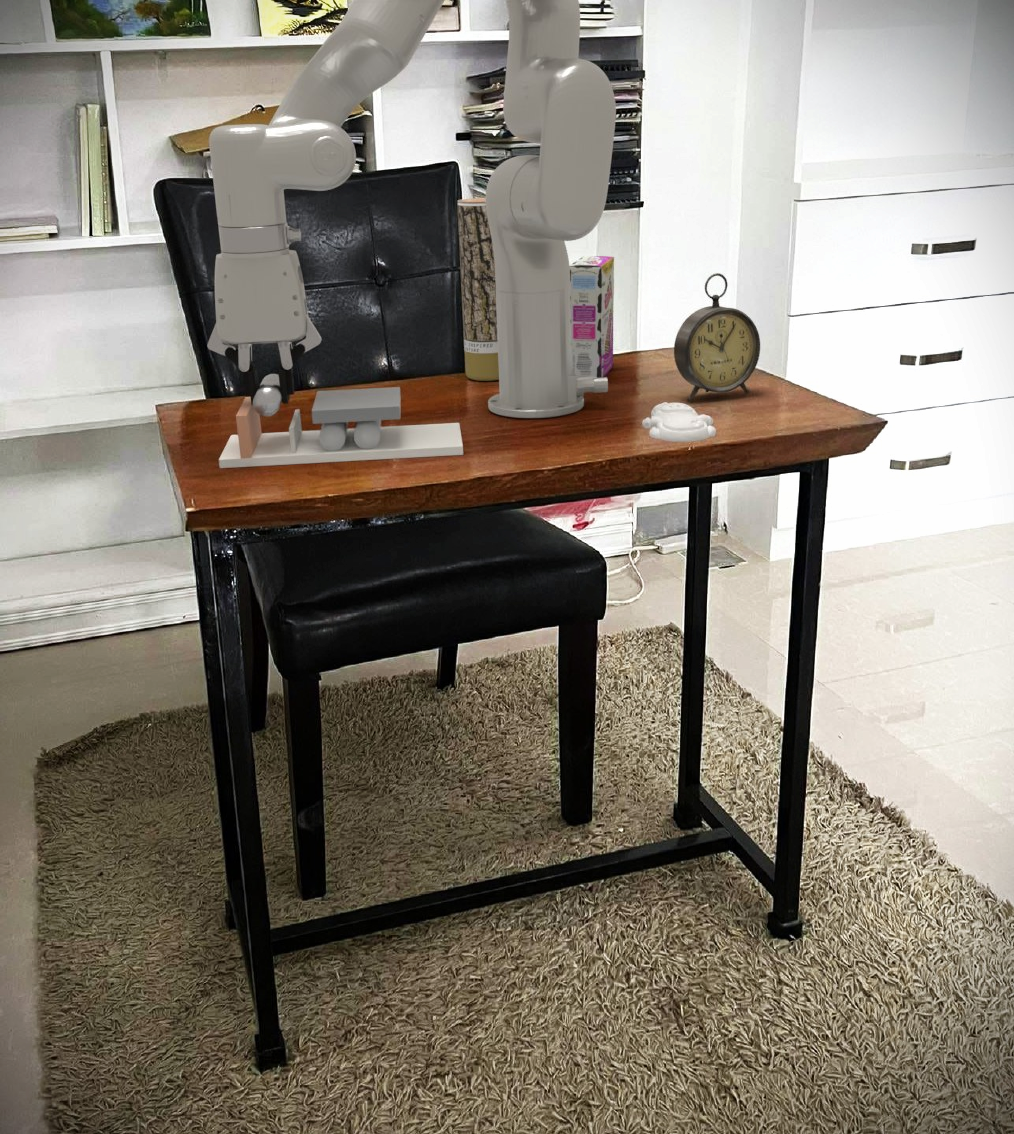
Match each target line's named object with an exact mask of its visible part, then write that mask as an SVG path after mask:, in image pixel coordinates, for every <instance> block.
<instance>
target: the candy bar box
mask: <svg viewBox="0 0 1014 1134" xmlns="http://www.w3.org/2000/svg"><path fill="white" fill-rule="evenodd" d="M569 266H570V318H571V367H572V369H573V371H574V372H575V374H576V375H578V377H580V376H583V377H586V376H595V377H596V378H600V377H607V375H608V373H609V372H610V371H611V370H612V368H613V367H614V303H615V302H614V295H615V291H614V290H615V289H614V288H615V272H614V271H615V268H614V267H615V257H614V256H606V255H605V256H604V255H589V256H585V255H584V256H582V257H580V258H579V259H578V260H575V261H573V263H570V264H569ZM612 366H613V367H612Z"/></svg>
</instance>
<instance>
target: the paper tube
mask: <svg viewBox="0 0 1014 1134" xmlns="http://www.w3.org/2000/svg"><path fill="white" fill-rule="evenodd" d="M456 207H457V225H458V226H457V227H458V242H459V243H458V246H459V262H460V263H459V265H460V267H459V268H460V285H461V287H460V288H461V289H460V290H461V304H462V305H461V309H462V310H461V311H462V327H463V331H462V332H463V347H464V348H463V350H464V363H465V364H464V368H465V375H466V377H467V378H468V379H470V380H472V381H480V382H489V381H490V382H491V381H492V382H494V381H499V364H498V339H497V313H496V282H495V263H494V252H493V244H492V238H491V233H490V228H489V223H488V218H487V213H486V202H485V197H475V198H473V197H472V198H464V199H458V200H457V206H456Z"/></svg>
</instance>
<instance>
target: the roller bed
mask: <svg viewBox="0 0 1014 1134" xmlns="http://www.w3.org/2000/svg"><path fill="white" fill-rule="evenodd" d="M241 403H242V404H241V405H240V407H239V409H238V410H237V413H236V415H235V422H236V427H237V429H236V430H237V434H231V435H230V437H229V439H228V441H227V442H226V445H225V447H224V449H223V451H222V452H221V454H220V457H219V458H218V465H219V469H227V468H230V469H231V468H248V467H265V466H267V467H269V466H281V465H282V466H283V465H284V466H285V465H286V466H287V465H303V464H318V463H339V462H353V461H354V462H356V461H359V462H360V461H371V460H372V461H374V460H375V461H376V460H390V459H391V460H392V459H393V460H394V459H410V458H411V459H412V458H427V457H443V456H444V457H447V456H463V455H464V445H463V438H462V432H461V427H460V425H461V424H460V422H448V423H428V424H415V425H412V424H411V425H410V424H409V425H393V426H391V425H390V426H382V420H374V421H356V422H355V425H354V426H355V427H352V428H348V425H349V422H337V423H321V427H320V429H316V430H302V420H301V411H300V409H298V408H297V409H295V410H294V413H293V415H292V419H291V422H290V424H289V427H288V431H282V432H280V431H279V432H278V431H277V432H264V433H263V432H262V425H261V417H260V416H261V415H260V414H258V413H257V412H256V411H255V409H254V407H253V405H251V397H246V396H245V398H244V399H243V401H242V402H241Z"/></svg>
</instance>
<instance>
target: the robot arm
mask: <svg viewBox="0 0 1014 1134" xmlns="http://www.w3.org/2000/svg"><path fill="white" fill-rule="evenodd" d="M445 1H446V0H353V1H352V3H351V4H350V6H349V8H348V9H347V11H346V13H345V15H344V16H343V17H342V20H341V21H340V23H338V25H337V26H336V28H335V29H334V30H333V31H332V32H331V33H330V35H329V36H328V37H327V38H326V40H325V41H324V42H323V43H322V45H321V46H320V47H319V49H318V50H317V51H316V52H315V53H314V55H313V56H312V57H311V59H310V60H309V61H308V63H307V64H306V65H305V66H304V67H303V69H302V70H301V71H300V73H299V74H298V75H297V77H296V78H295V79H294V81H293V82H292V84H291V85H290V87H289V89H288V91H287V92H286V93H285V96H283V98H282V100H281V102H280V104H279V106H278V107H277V109H276V111H275V113H274V114H273V117H272V118H271V120H270V121H269V124H262V123H256V124H255V123H253V124H251V123H250V124H247V123H245V124H227V125H221V126H217V127H215V128H214V129H212V130H211V132H210V134H209V138H208V142H209V143H208V145H209V154H210V155H209V157H210V162H211V172H212V181H213V189H214V198H215V199H214V200H215V209H216V218H217V224H218V235H219V243H220V253H218V254H216V256H215V262H214V263H215V265H214V301H215V302H214V305H215V320H216V322H215V324H214V327H213V330H212V332H211V334H210V336H209V339H208V342H207V348H208V350H210V351H212V352H215V353H217V354H219V355H221V356H225V357H226V358H227V359H228V360H229V361H230V362H232V363H233V364H234V365H235V366H237V367H238V369H239V371H241V372H242V377H243V387H244V395H245V397H251V405H253V399H254V397H255V395H256V393H257V391H258V389H259V386H260V383H259V373H258V368H257V367H256V365H255V362H254V361H253V349H252V348H253V347H252V346H253V345H258V344H277V345H278V346H277V347H278V349H279V356H280V363H279V368H278V369H279V370H278V372H277V373H278V375H279V383H280V392H281V395H282V401H281V404H284V405H285V404H288V403H289V402H290V399H291V398H290V397H291V396H292V395H295V383H294V371H293V367H294V365H295V364H296V363H297V361H299V359H301V357H302V356H303V355H304V354H305V353H306V352H308V351H311V350H313V348H316V347H317V346H319V345H320V344H321V343H322V336H321V334H320V333H319V331H318V330H317V328H316V326H315V325H314V324H313V322H312V320H311V319H310V317H309V311H308V304H307V297H306V290H305V285H304V283H305V282H304V279H303V278H304V277H303V272H302V268H301V264H300V260H299V255H298V253H297V251H296V250H292V249H290V245H291V244H292V243H295V242H298V241H299V242H301V241H302V233H301V228H294V227H291V226H290V225H288V222H287V214H286V202H285V193H284V192H285V191H284V190H287V189H288V190H289V189H290V190H303V191H305V190H306V191H317V192H322V191H323V192H324V191H328V190H333V189H335V188H337V187H339V186H341V185H343V184H344V183H345V182H346V181H347V180H348V179H349V178H350V177H351V175H352V173H353V172H354V169H355V166H356V161H357V153H356V148H355V144H354V142H353V140H352V137H350V135H349V134H348V133H347V132H346V131H345V129H343V128H342V126H343V124H345V122H346V120H347V119H348V117H349V116H350V115H351V114H352V113H353V112H354V110H355V109H356V108H357V107H358V106H359V105H360V104H362V102H363V101H364V100H366V98H367V97H368V96H370V95H372V94H373V93H374V92H376V91H377V90H379V89H380V88H381V87H384V86H385V85H387V84H388V83H389V82H391V81H392V80H394V78H396V77H397V76H398V75H399V74H400V73H401V72H402V71H403V70H405V69H406V67H408V65H409V63H410V62H411V60H412V59H413V56H414V55H415V53H416V51H417V49H418V48H419V46H420V44H421V42H422V41H423V39H424V36H425V35H426V33H427V32H428V29H429V28H430V27H431V25H432V23H433V21H434V19H435V18H436V16H437V14H438V13H439V11H440V10H441V8H442V6H443V4H444V3H445ZM505 2H506V3H505V4H506V6H507V10H508V23H509V24H508V49H507V56H506V57H507V58H506V59H507V60H506V68H505V69H506V70H505V80H504V89H503V90H504V92H503V102H502V103H503V105H502V110H503V111H502V112H503V118H504V119H503V120H504V123H505V125H506V127H507V129H508V131H509V132H510V133H511V134H512V135H513V136H514V137H516V138H517V139H519V140H520V141H523V142H527V143H530V144H531V143H532V144H536V145H537V144H538V145H539V144H540V148H539V155H536V154H535V155H534V154H533V155H532V154H525V155H517V156H514V157H510V158H509V159H506V160H504V161H503V162H502V163H500V164H499V165H498V166H497V167H496V168H495V169H494V170H493V172H492V174H491V175H490V176H489V180H488V182H487V184H486V185H487V186H486V190H485V197H484V198H485V202H486V213H487V218H488V223H489V228H490V233H491V238H492V244H493V252H494V263H495V282H496V313H497V339H498V364H499V380H498V383H499V384H498V385H499V386H498V387H499V389H498V390H499V393H497V394H494V395H493V396H491V397H489V399H488V400H487V405H488V410H489V411H490V412H492V413H493V414H495V415H498V416H503V417H507V418H518V419H543V418H545V419H546V418H554V417H560V416H566V415H570V414H573V413H576V412H579V411H580V410H582V409H583V407H584V406H585V398H584V394H585V393H596V394H597V393H607V392H608V391H609V381H608V377H607V376H605V377H600V378H596V377H595V376H586V377H583V376H580V377H578V375H576V374H575V372H574V371H573V369H572V367H571V318H570V266H569V265H570V261H569V255H568V250H567V245H566V242H571V241H576V240H579V239H582V238H584V237H586V236H587V235H588V234H590V233H592V231H593V230H594V229H595V228H596V226H597V225H598V223H599V222H600V220H601V218H602V216H603V213H604V210H605V206H606V202H607V197H608V190H609V185H610V184H609V182H610V174H611V166H612V165H611V164H612V155H613V147H614V140H615V130H616V117H617V114H616V113H617V106H616V99H615V98H616V97H615V94H614V90H613V87H612V84H611V82H610V79H609V77H608V76H607V74H606V73H605V72H604V70H602V69H601V68H600V67H599V66H598V65H597V64H596V63H593V62H592V61H589V60H587V59H583V58H579V55H580V54H579V53H580V34H581V33H580V31H581V9H580V8H581V7H580V1H579V0H505ZM303 338H305V339H303ZM302 339H303V340H302ZM298 341H299V342H298ZM293 342H297V343H296V344H295V345H294V346H293V344H292V343H293ZM234 345H237V346H238V348H237V347H236V346H234Z"/></svg>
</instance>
